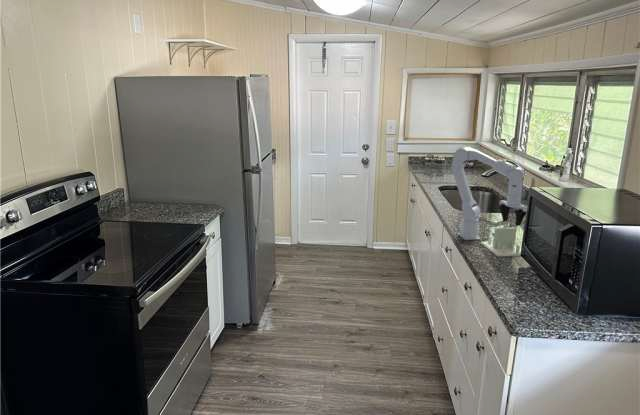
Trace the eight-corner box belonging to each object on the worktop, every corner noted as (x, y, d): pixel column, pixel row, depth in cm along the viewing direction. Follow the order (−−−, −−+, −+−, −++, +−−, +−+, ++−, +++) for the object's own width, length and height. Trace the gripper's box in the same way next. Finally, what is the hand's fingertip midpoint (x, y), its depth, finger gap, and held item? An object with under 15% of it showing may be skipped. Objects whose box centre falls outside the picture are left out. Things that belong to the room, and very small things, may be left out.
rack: (480, 243, 205) (481, 235, 204) (507, 242, 206) (508, 234, 205) (497, 256, 189) (498, 247, 188) (526, 255, 190) (527, 246, 189)
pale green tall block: (492, 246, 198) (494, 227, 196) (512, 246, 199) (514, 227, 196) (494, 248, 196) (496, 229, 194) (514, 247, 197) (516, 228, 195)
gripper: (495, 191, 203) (492, 220, 206) (521, 198, 190) (517, 228, 193) (507, 190, 206) (504, 218, 209) (532, 196, 193) (529, 226, 196)
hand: (511, 223), depth 201 cm, fingers open, 7 cm apart
